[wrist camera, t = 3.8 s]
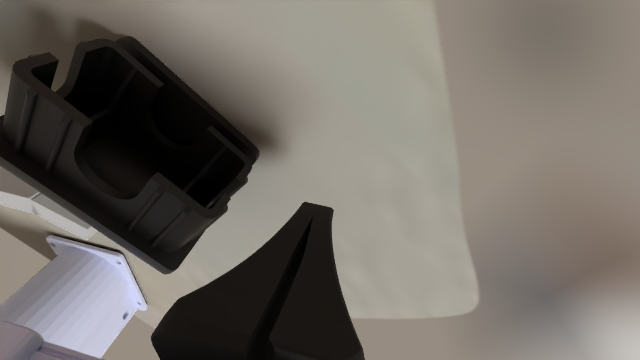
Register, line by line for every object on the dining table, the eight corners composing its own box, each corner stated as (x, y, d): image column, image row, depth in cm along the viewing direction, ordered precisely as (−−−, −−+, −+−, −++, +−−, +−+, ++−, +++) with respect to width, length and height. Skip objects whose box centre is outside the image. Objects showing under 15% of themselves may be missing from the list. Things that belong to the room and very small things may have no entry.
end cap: (84, 110, 19) (-40, 170, 14) (120, 23, 15) (-34, 59, 10) (212, 209, 22) (151, 291, 17) (270, 157, 18) (213, 242, 13)
